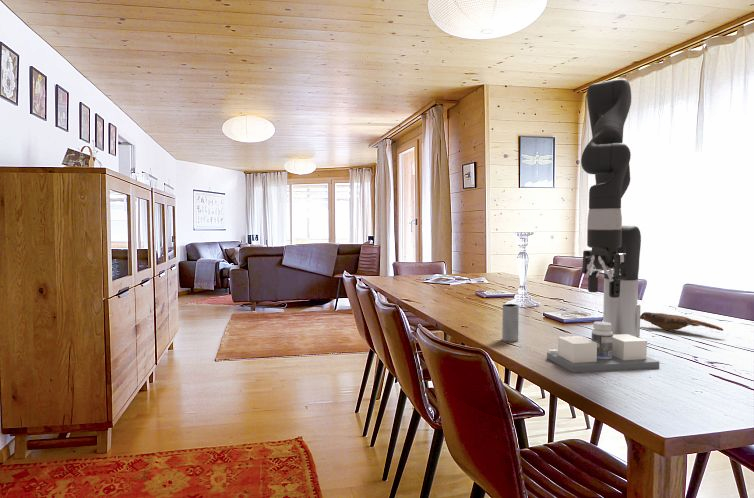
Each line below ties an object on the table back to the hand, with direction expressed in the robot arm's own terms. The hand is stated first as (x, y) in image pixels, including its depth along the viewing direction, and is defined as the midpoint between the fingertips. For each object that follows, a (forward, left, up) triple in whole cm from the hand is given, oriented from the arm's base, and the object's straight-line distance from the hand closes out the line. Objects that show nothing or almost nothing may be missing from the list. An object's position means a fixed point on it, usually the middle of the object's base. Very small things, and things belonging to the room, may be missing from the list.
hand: (603, 294), depth 120 cm
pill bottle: (0, 0, -16) cm, 16 cm away
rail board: (0, 0, -17) cm, 17 cm away
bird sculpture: (-44, -28, -17) cm, 55 cm away
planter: (+12, -26, -17) cm, 33 cm away
